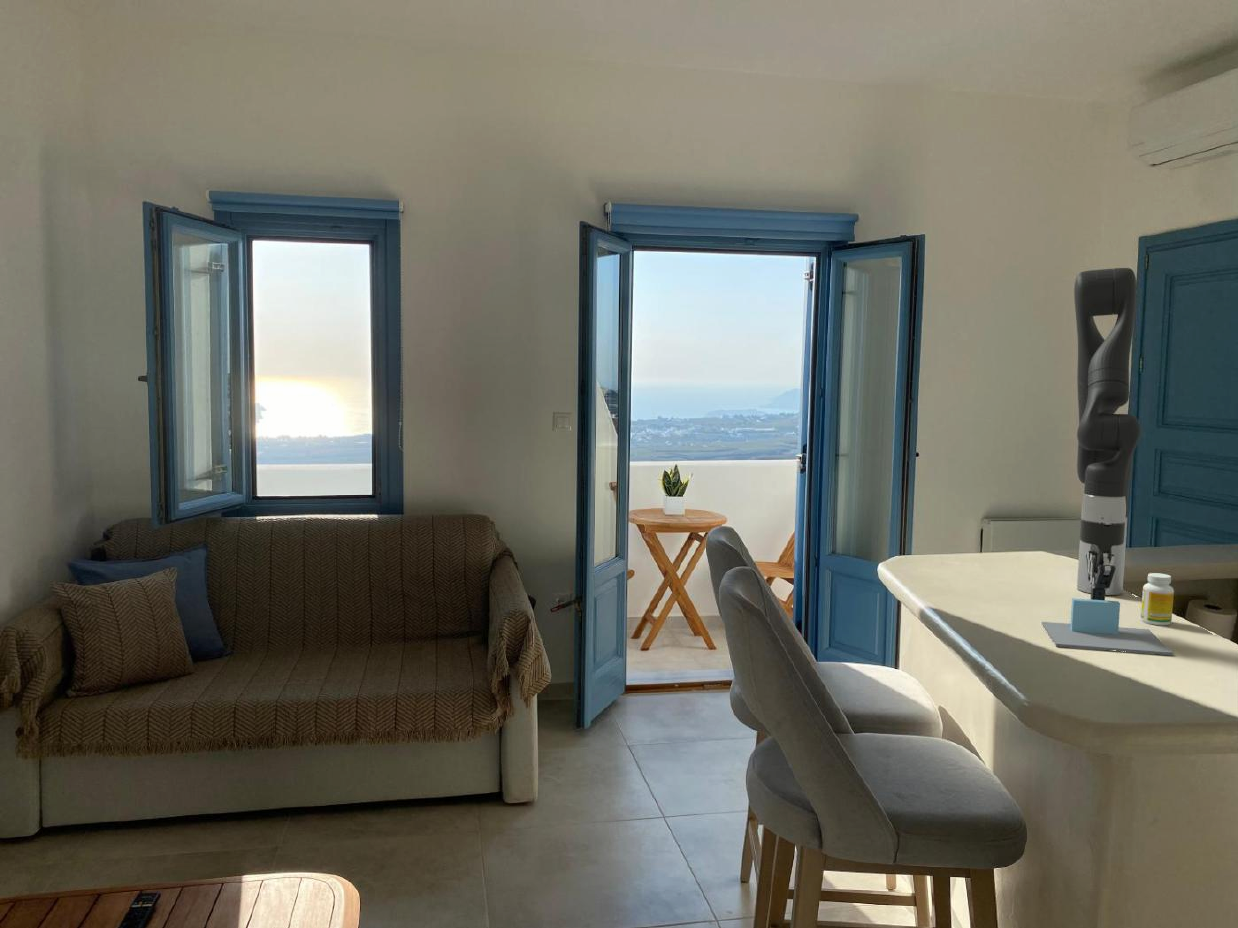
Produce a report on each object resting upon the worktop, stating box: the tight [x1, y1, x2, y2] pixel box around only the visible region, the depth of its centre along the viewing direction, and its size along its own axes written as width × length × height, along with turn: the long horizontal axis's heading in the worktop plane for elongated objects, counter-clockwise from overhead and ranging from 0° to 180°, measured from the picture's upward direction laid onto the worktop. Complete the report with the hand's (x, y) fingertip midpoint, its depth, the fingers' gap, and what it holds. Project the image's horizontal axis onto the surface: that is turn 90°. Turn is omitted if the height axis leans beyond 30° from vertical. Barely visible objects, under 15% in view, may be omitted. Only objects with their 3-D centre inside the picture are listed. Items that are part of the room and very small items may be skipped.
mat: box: [1041, 621, 1174, 656], centre depth 176 cm, size 15×19×1 cm
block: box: [1069, 597, 1121, 635], centre depth 179 cm, size 2×8×6 cm, turn 75°
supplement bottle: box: [1140, 572, 1175, 626], centre depth 188 cm, size 5×5×10 cm
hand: (1097, 607), depth 181 cm, fingers closed
